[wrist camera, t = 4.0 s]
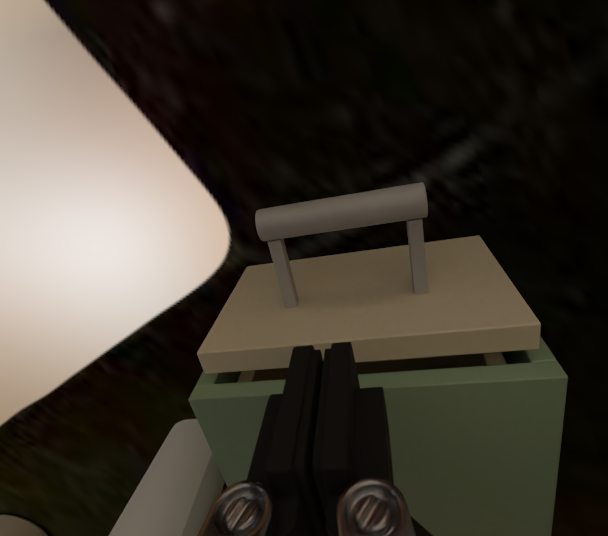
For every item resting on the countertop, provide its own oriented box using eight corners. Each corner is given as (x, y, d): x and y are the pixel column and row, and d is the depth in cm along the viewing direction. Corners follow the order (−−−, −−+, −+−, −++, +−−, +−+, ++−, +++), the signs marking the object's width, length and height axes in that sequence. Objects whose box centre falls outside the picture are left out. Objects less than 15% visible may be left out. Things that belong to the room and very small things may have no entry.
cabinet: (249, 283, 26) (187, 399, 17) (486, 253, 23) (568, 377, 14) (299, 446, 33) (274, 592, 23) (487, 441, 29) (543, 607, 20)
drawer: (223, 190, 22) (154, 251, 15) (478, 144, 19) (550, 191, 12) (296, 431, 30) (275, 548, 23) (482, 424, 28) (526, 555, 20)
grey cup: (209, 477, 36) (160, 609, 27) (151, 437, 35) (78, 564, 26) (254, 447, 33) (215, 583, 25) (193, 403, 32) (127, 531, 23)
